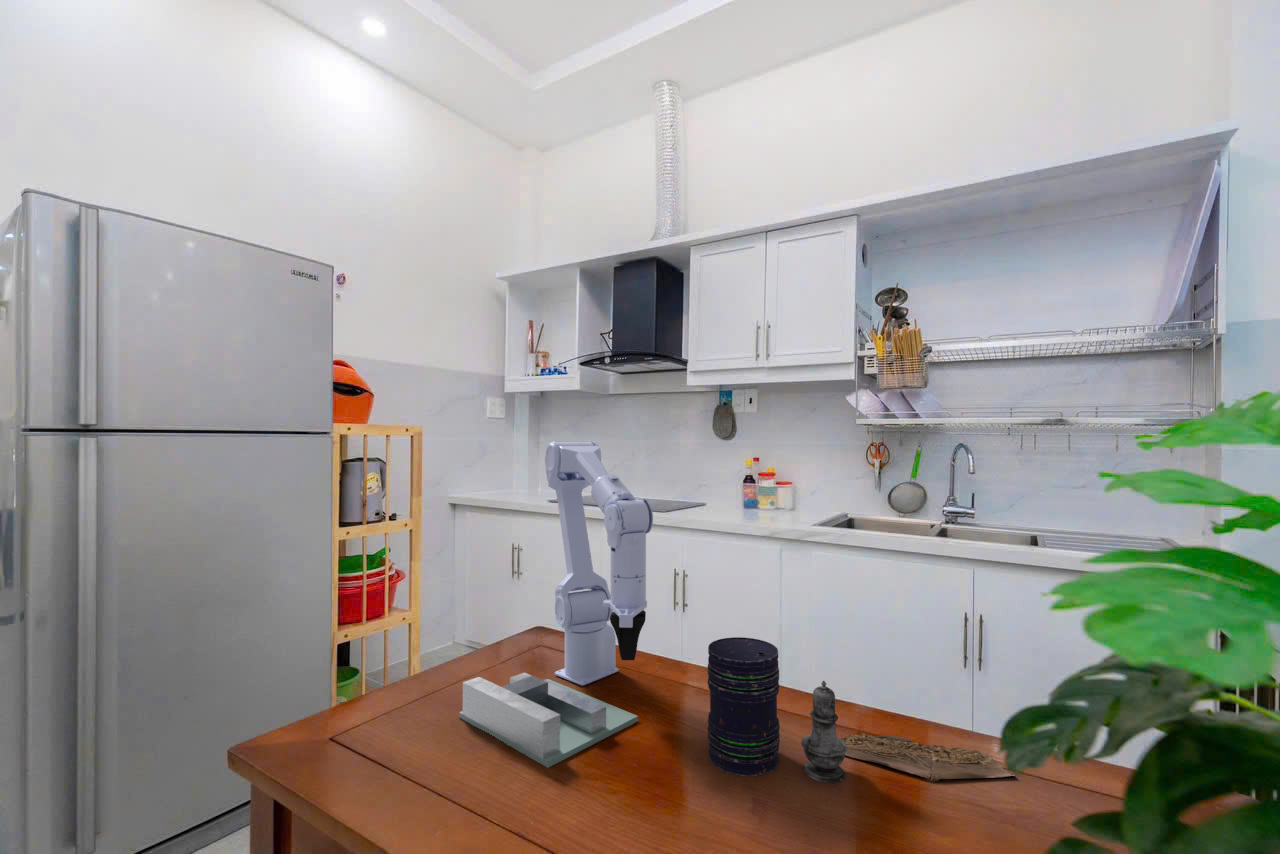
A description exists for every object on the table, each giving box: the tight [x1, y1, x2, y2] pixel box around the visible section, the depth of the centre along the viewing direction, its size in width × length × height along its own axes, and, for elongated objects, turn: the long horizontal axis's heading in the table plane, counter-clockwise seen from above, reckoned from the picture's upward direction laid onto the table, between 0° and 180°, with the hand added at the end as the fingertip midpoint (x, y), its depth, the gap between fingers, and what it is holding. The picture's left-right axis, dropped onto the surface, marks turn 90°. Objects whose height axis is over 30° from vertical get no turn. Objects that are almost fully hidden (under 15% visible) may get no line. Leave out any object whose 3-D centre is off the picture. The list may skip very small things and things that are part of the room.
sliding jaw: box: [509, 672, 606, 734], centre depth 96 cm, size 3×20×3 cm, turn 48°
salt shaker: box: [800, 680, 848, 784], centre depth 80 cm, size 6×6×12 cm
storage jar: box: [707, 636, 781, 777], centre depth 84 cm, size 10×10×15 cm
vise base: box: [458, 676, 639, 769], centre depth 95 cm, size 18×22×6 cm
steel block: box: [501, 675, 548, 709], centre depth 94 cm, size 6×4×5 cm, turn 138°
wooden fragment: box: [838, 733, 1018, 782], centre depth 84 cm, size 26×11×1 cm, turn 68°
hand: (628, 658), depth 98 cm, fingers closed
